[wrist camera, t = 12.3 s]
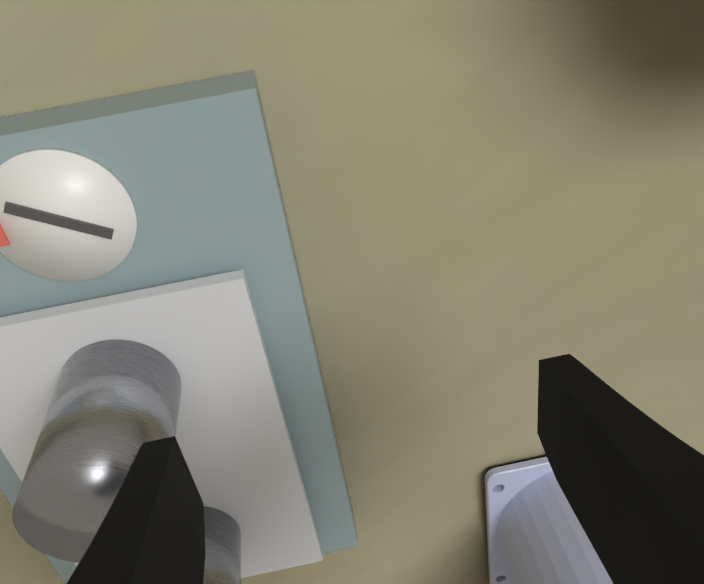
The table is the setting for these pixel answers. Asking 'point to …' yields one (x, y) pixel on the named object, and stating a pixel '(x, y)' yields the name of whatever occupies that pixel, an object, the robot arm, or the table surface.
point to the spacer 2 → (221, 548)
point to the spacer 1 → (93, 441)
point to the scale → (173, 299)
